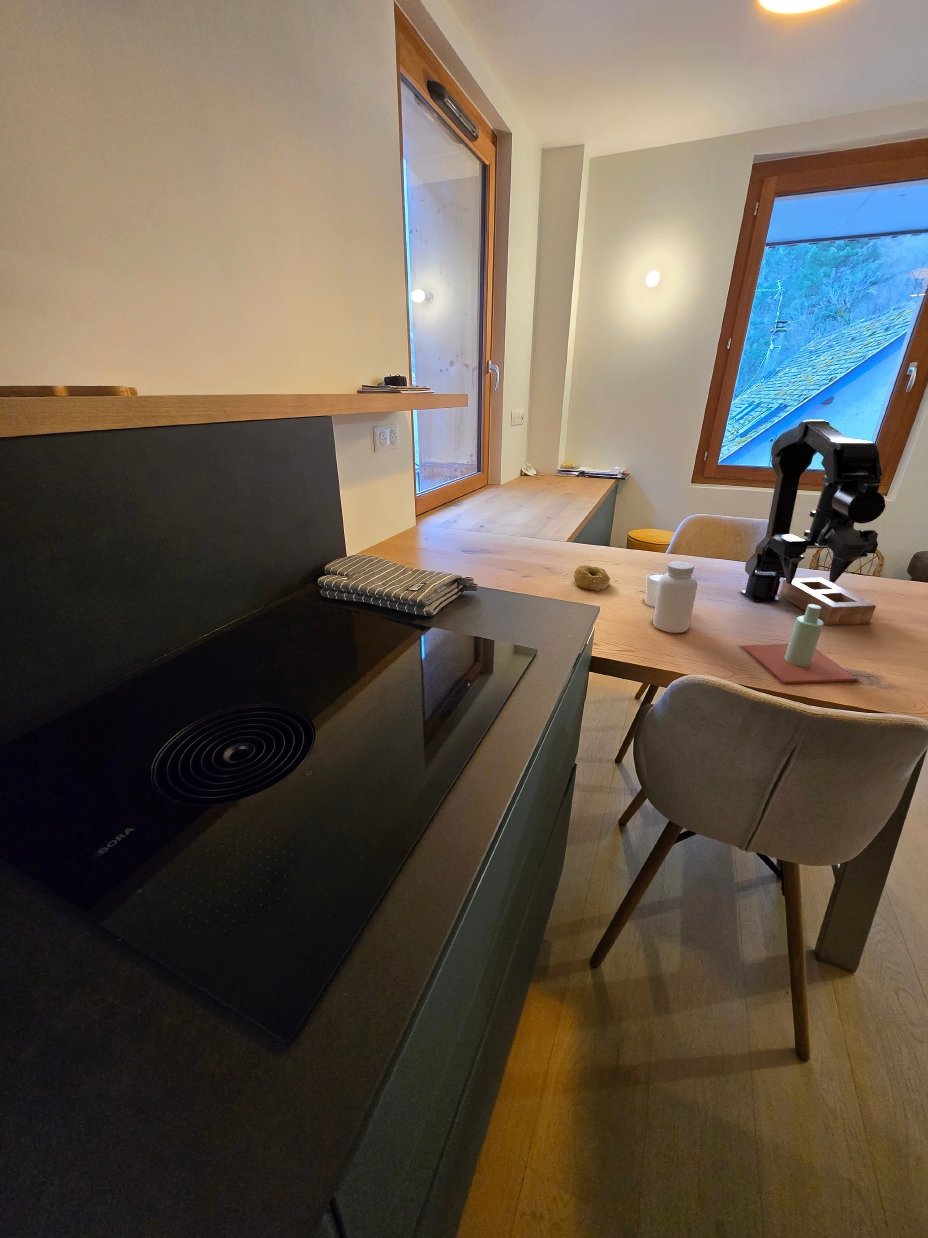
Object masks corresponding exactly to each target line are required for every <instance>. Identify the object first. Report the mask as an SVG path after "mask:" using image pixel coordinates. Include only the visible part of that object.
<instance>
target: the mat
mask: <svg viewBox="0 0 928 1238" xmlns="http://www.w3.org/2000/svg"><path fill="white" fill-rule="evenodd" d="M788 644H789V643H774V644H747V645H746V644H744V645H742V649H744V650H745V651H746V652H747V653H749V654H750V656H752V657H753V658H754V659H755V660H756V661H758V663H760V664H761V665H762V666H764V668H766V669H767V670H768V671H769V672H770V673H771V674H772V675H774V676H775V677H776V678H777V679H778V680H779V681H780V682H782V683H783V684H802V683H803V684H804V683H827V682H828V683H829V682H830V683H832V682H833V683H834V682H857V680H858V678H857V677H856V676H854V675H853V674H851V673H850V672H849V671H847V669H845V668H843V667H842V666H840V665H839V664H837V663H836V662H835V661H833V660H832V659H830V658H829V657H828V656H826V655H825V654H824V653H822V652H820V651H819V650H818V649H817V648H815V651H814V654H813V657H812V660H811V663H810V665H809V666H796V665H793V664H790V663H788V662H787V661H786V660H785V658H784V657H785V654H786V651H787V648H788Z"/></svg>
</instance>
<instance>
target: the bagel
mask: <svg viewBox="0 0 928 1238" xmlns="http://www.w3.org/2000/svg"><path fill="white" fill-rule="evenodd" d="M573 579H574V580H575V581H574V583H575V582H576V583H575V585H576V586H577V587H580V588H581V589H586V590H591V591H597V592H599V591H602V590H604V589H606V588H607V587H608V586H609V583H610V581H611V577H610V576H609V575H608V573H607V571H606V570H605V569H604V568H602V567H599V566H592V565H588V564H587V565H586V564H584V565H583V564H582V565H579V566H578V567H577V568H576V569H575V570H574V573H573Z"/></svg>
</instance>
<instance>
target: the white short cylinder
mask: <svg viewBox="0 0 928 1238" xmlns="http://www.w3.org/2000/svg"><path fill="white" fill-rule="evenodd" d="M664 574H665V573H657V572H655V573H649V574H647V575H646V577H645V597H644V603H645V604H646V606H648V607H649V606H650V607H652V608H655V604H656V598H657V591H658V585H659V580H660V578H661V576H662V575H664Z"/></svg>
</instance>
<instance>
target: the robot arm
mask: <svg viewBox="0 0 928 1238" xmlns="http://www.w3.org/2000/svg"><path fill="white" fill-rule="evenodd" d="M816 454H819V455H820V456H822V460H821V466H822V467H823V469H824V473H825V475H824V476H822V477H821V478H820V479H821V482H822V483H823V485H822V489H821V492H820V495H819V499H818V502H817V505H816V508H815V510H811V511H810V513H809V517H811V518H812V522H811V525H810V528H809V530H804V532H803V537H806V538H801V537H799V536H796V535H794V534H792V533H790V531H791V525H792V521H793V516H794V511H795V507H796V500H797V497H798V491H799V490H798V489H799V485H800V480H801V476H802V475H803V474H804V473H805V472H806V470H807V469H809V467H810V465H811V464H812V462H813V458H814V457H815V456H816ZM770 455H771V464H770V465H771V467H772V469H773V470H774V473H775V476H776V479H775V484H774V488H773V495H772V500H771V506H770V510H769V516H768V521H767V527H766V533H765V536H764V538H762V539H761V540H760V542H759V543H757V545H756V547H755V551H754V553H753V554H752V555H751V557H750V558H748V559H747V561H746V562H745V566H744V572H745V573H746V574H747V575H748V579H747V583H746V587H745V590H741V591H740V593H741V594H743V595H744V596H746V597H747V598H748V599H750V600H751V601H752V602H778V601H779V600H780V598H778V597H777V596H778V593H779V589H780V585H781V579H786V582H787V583H788V584H792V581H793V579H795V576H796V573H797V570H798V567H799V563H800V562H801V561H803V560H804V559H805V558H806V556H804V555H803V554H805V553H807V549H808V550H809V549H810V550H811V549H830V550H831V551H832V559H831V564H830V568H829V569H830V570H829V576H828V577H829V578H828V581H829V582H831V583H833V584H835V583H836V582H837V580H838V579H839V578H840V577H841V576H842V575H843V574H844V572H845V571H846V570H847V569H848V568H849V566H850V565H851V564H853V563H854V562H855V561H857V560H860V559H862V558H867V557H868V556H869V554H876V551H877V549H878V547H879V543H878V537H879V533H878V532H877V531H876V530H875V529H864V530H861V529H855V528H854V526H855V524H861V525H863V524H868V523H871V522H873V521H875V520H877V519H878V518H879V517H880V516H881V515H882V514H883V513H884V511H885V509H886V506H887V505H886V500H885V497H884V495H883V494H881V493H880V492H879V489H880V484H881V476H882V475H883V471H882V466H881V461H880V460H881V459H880V451H879V448H878V445H877V444H876V443H875V442H872V441H868V440H863V439H862V440H861V439H854V438H849V437H848V436H846V435H845V434H844V433H842V432H840V431H839V430H838V429H837V428H835V427H833V426H832V425H830V422H829V421H827V420H824V419H814V420H813V419H809V420H808V419H806V420H803V421H801V422H800V423H798V425H796V426H795V427H793V428H791V429H789V430H787V431H785V432H783V433H781V434H780V435H779V436H778V437H777V438H776V440H775V441H774V442H773V444H772V445H771V449H770Z"/></svg>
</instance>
